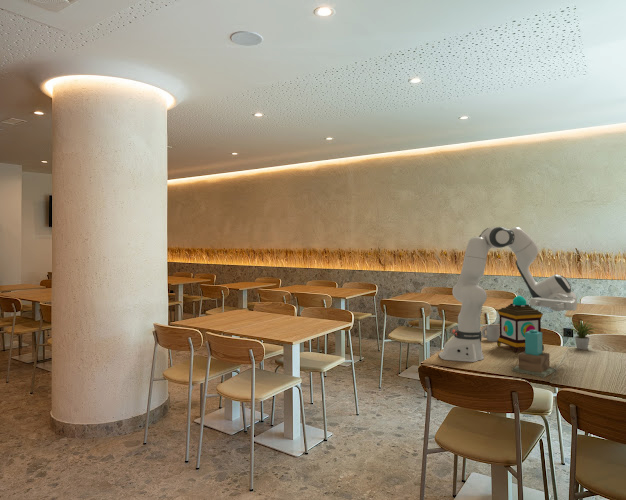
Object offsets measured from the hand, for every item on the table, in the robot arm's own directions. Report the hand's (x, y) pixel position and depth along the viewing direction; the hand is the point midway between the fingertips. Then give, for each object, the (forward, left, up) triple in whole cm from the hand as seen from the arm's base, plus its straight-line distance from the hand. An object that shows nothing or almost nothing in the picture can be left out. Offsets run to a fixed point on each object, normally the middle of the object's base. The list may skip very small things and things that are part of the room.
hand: (546, 305), depth 215 cm
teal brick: (-8, -7, -22) cm, 24 cm away
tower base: (-8, -7, -30) cm, 32 cm away
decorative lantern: (-2, +35, -30) cm, 46 cm away
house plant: (+31, +37, -30) cm, 57 cm away
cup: (-13, +55, -30) cm, 64 cm away
